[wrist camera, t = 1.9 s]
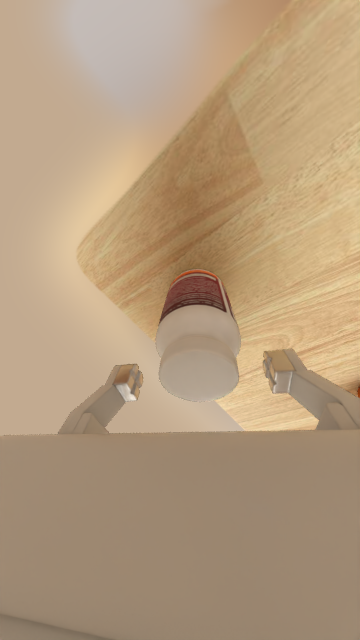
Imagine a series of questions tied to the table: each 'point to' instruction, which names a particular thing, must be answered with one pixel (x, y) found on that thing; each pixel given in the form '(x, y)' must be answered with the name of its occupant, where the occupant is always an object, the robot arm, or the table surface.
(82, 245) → the table surface
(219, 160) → the table surface
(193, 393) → the pill bottle
